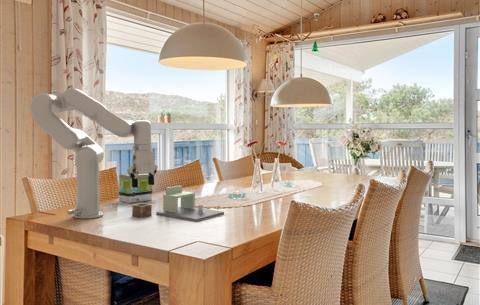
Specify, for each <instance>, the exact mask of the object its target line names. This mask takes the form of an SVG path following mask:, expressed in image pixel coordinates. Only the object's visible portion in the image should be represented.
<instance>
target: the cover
mask: <svg viewBox="0 0 480 305" xmlns="http://www.w3.org/2000/svg"><path fill="white" fill-rule="evenodd" d="M162 198H163V199H162V200H163V201H162V205H163V206H162V211H169V212H175V213H177V212H178V207H179V199H180V207H186V208H192V209H194V208H195V207H196V193H195V192H191V191H184V190H183V185H174V186H168V187H165V194H163V197H162Z"/></svg>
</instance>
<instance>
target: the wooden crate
mask: <svg viewBox="0 0 480 305" xmlns="http://www.w3.org/2000/svg"><path fill="white" fill-rule="evenodd" d="M152 208H153V207H152V204H149V203H142V202H141V203H137V204H132V205H131V212H132V213H131V215H132V217H136V218H140V219H141V218H147V217H151V216H152V215H153V214H152V213H153V212H152V210H153V209H152Z"/></svg>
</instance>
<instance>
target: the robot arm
mask: <svg viewBox="0 0 480 305" xmlns="http://www.w3.org/2000/svg"><path fill="white" fill-rule="evenodd" d="M29 107H30V108H29V109H30V115H31V117H32V119H33V121H34V122H35V123H36V125H37V126H38V127H40V128H41V129H42V130H43V131H44V132H45V133H46V134H47V135H48V136H49V137H50V138H51V139H53V140H54V141H55V142H56V143H57V144H58V145H60V147H62V148H63V149H65V150H67V151H68V150H69V151H73V152H74V153H75V159H74V160H75V168H76V206H74V208H73V209H68V210H66V214H67V215H68V216H70V215H72V217H73V218H75V219H80V220H81V219H82V220H83V219H96V218H100V217H103V216H104V212H103V211H101V204H100V203H101V196H100V194H101V192H100V190H101V182H100V181H101V180H100V179H101V177H100V166H99V165H100V163H101V162H102V161H103V160H104V157H105V156H104V155H105V154H104V150H103V148H102V147H101V146H100V145H99V144H98V143H97V142H96V141H94V140H93V139H92V138H91V137H90V136H89V135H88V134H86V133H85V132H84V131H83V130H80V129H78V128H74V127H71V126H70V125H68V123H66V122H65V121H64V120H63V119H62V118H60V117H59V116H58V115H56V114H59V113H63V112H68V111H75V112H77V113H79V114H81V115H82V116H84V117H85V118H87V119H88V120H90V121H92V122H93V123H95V124H96V125H98V126H100V127H102V128H103V129H105V130H107V131H108V132H110V133H111V134H114V135H115V136H117V137H119V138H129V137H133V146H132V149H133V152H132V157H131V158H132V159H131V166H129V167H128V168H127V169H126V172H127V174H129V176H130V177H131V178H132V187H134V188H138V179H137V177H138V175H139V174H146V173H147V174H149V176H148V184H149V185H152V186H155V176H156V174H157V170H158V168H159V167H158V165H156V163H155V156H154V152H153V150H152V127H151V126H152V125H151V122H150V121H149V120H135V121H133V120H125V119H123V118H121V117H120V116H119V115H116V114H115V113H113V112H111V111H110V110H109V109H107V107H106V106H105V105H104V104H102V103H101V102H100V101H98V100H96V99H95V98H93V97H91V96H89V95H88V94H86V93H85V92H84V91H83V90H80V89H79V88H75V87H70V88H69V87H68V88H67V89H65V90H64V91H63V92H62V93H55V94H51V93H47V92H39V93H38V94H36V95H34V96H33V97H32V99H31V101H30V106H29Z"/></svg>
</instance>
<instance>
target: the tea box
mask: <svg viewBox="0 0 480 305" xmlns="http://www.w3.org/2000/svg"><path fill="white" fill-rule="evenodd" d="M148 176H149V174H148V173H146V174H139V175H138V177H137V179H138V188H134V187H132V178H131V177H130V176H129V173H123V174H121V173H120V174H119V178H118V179H119V181H118V202H122V203H127V204H131V203H136V202H137V203H139V202H146V201H152V197H153V196H152V195H153V194H152V193H153V185H149V184H148Z"/></svg>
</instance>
